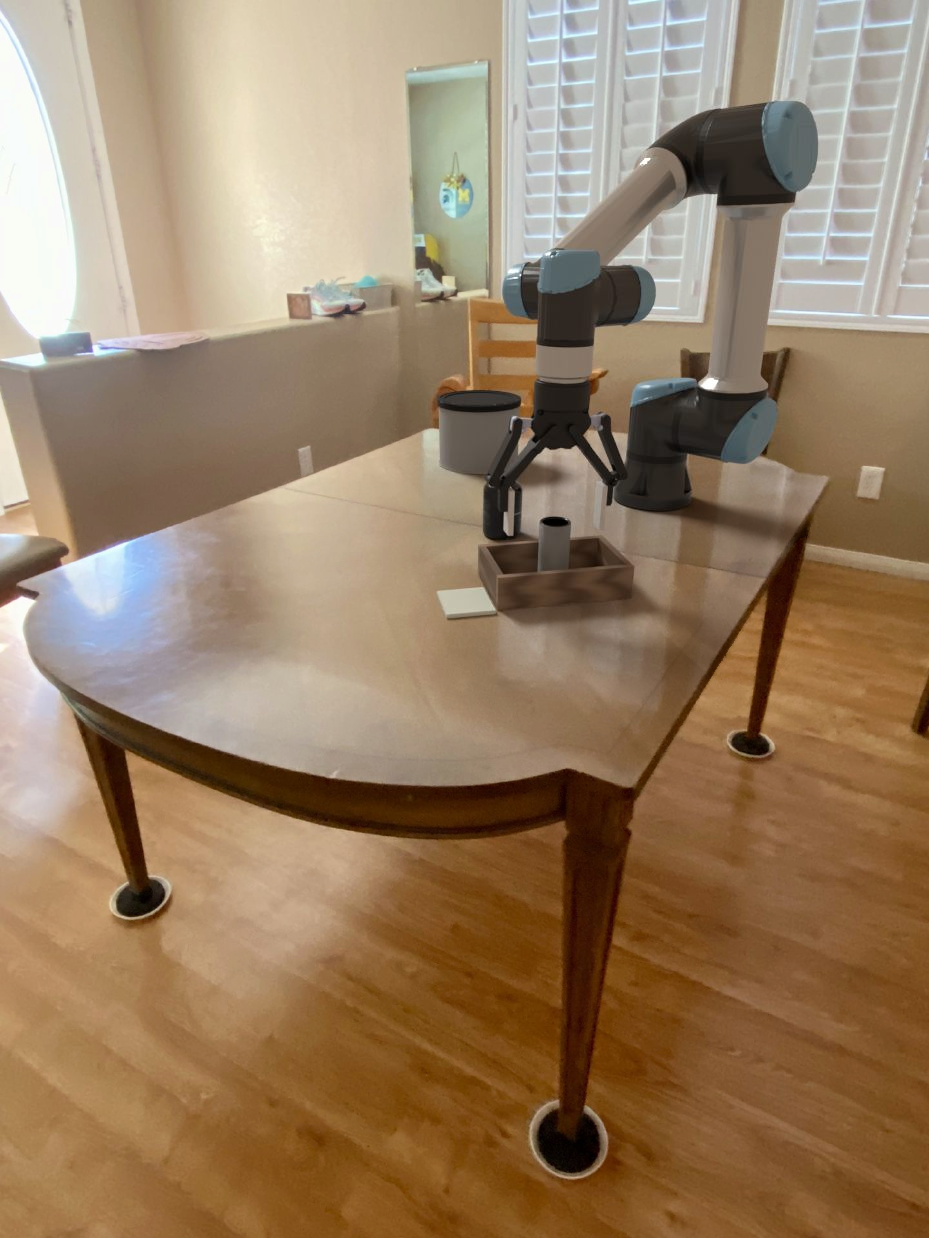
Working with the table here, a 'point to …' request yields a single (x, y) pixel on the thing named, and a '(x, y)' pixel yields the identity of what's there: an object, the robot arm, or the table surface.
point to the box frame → (554, 574)
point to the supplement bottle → (495, 517)
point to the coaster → (465, 602)
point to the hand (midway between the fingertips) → (553, 530)
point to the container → (474, 428)
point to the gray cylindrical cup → (554, 543)
